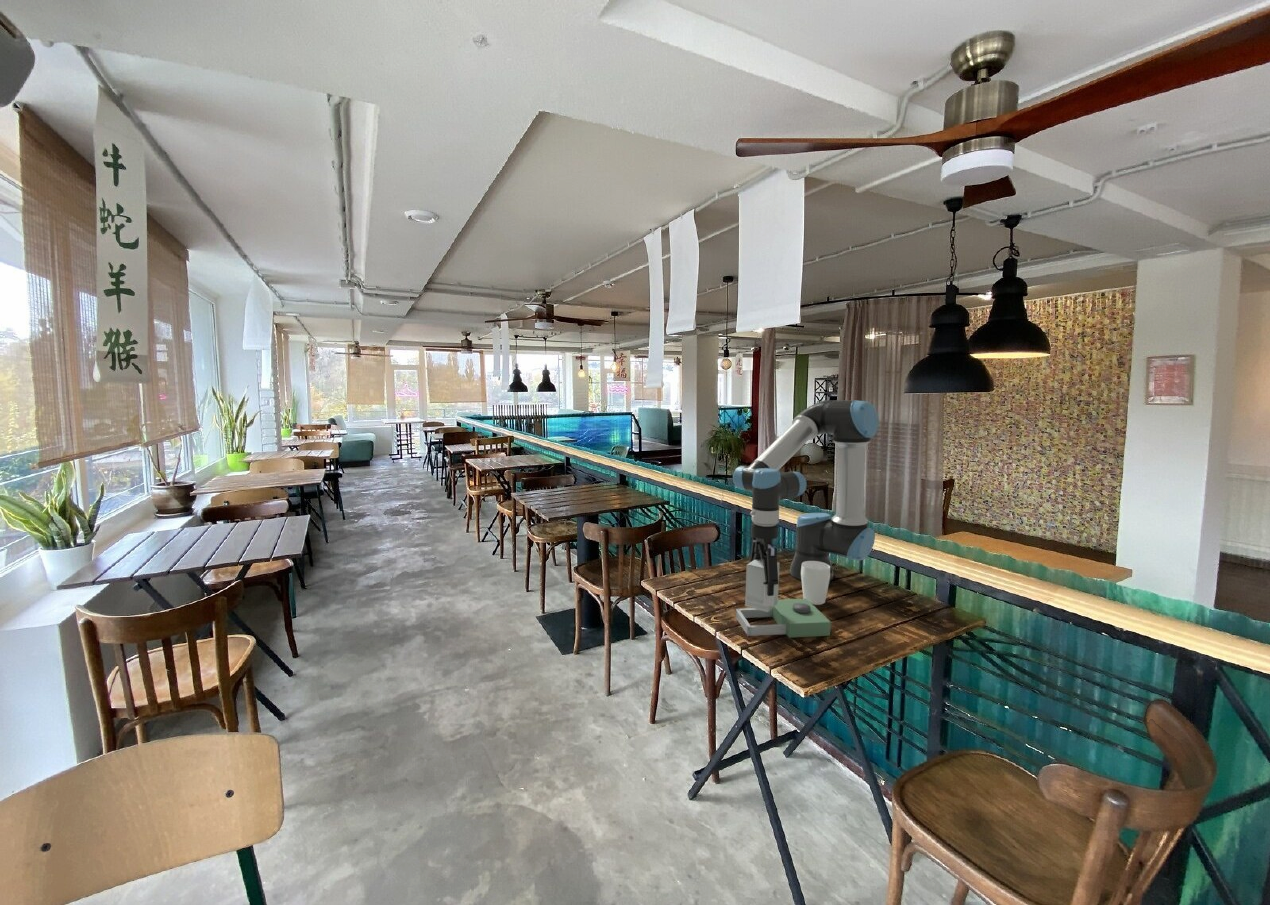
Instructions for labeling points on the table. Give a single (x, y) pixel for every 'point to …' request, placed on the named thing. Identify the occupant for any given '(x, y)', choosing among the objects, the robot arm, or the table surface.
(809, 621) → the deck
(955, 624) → the table surface
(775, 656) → the table surface
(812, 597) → the cup
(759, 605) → the supplement box
